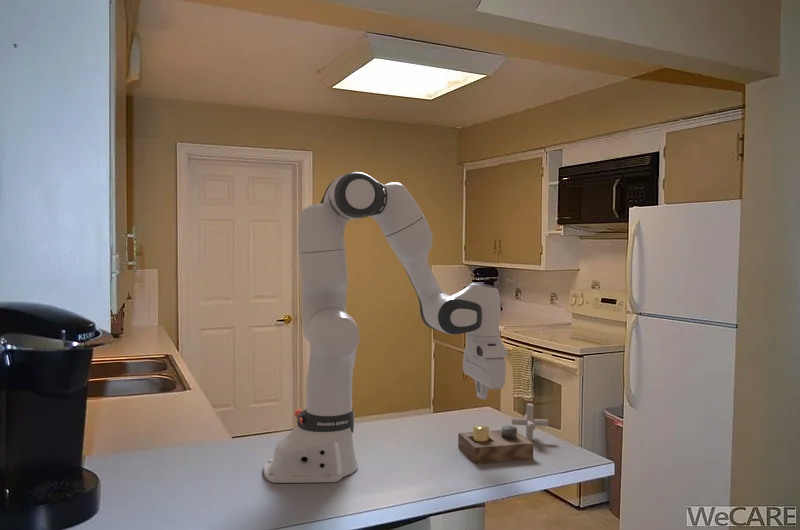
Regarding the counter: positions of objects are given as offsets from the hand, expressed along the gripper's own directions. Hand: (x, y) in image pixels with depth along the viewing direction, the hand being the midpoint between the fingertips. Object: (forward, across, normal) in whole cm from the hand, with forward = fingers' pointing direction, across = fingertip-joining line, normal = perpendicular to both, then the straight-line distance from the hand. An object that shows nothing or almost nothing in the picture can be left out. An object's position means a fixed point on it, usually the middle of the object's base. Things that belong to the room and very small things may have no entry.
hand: (481, 398), depth 157 cm
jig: (+15, 0, +4) cm, 15 cm away
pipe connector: (+15, -8, +18) cm, 25 cm away
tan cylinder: (+15, 0, 0) cm, 15 cm away
